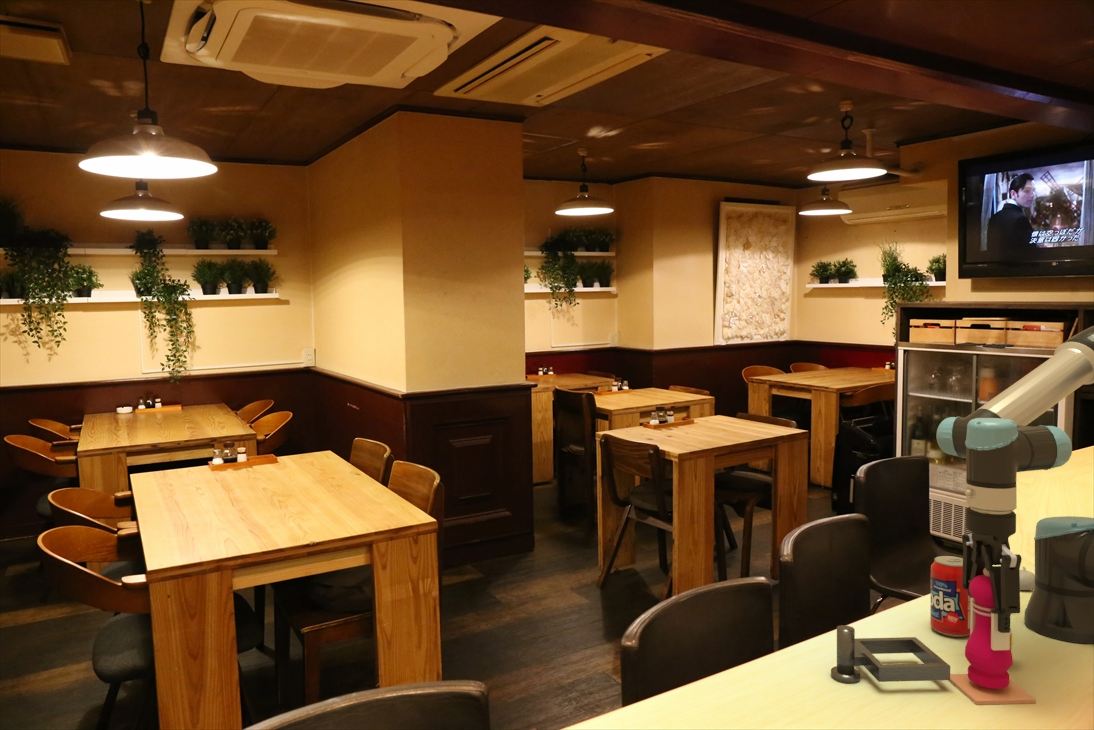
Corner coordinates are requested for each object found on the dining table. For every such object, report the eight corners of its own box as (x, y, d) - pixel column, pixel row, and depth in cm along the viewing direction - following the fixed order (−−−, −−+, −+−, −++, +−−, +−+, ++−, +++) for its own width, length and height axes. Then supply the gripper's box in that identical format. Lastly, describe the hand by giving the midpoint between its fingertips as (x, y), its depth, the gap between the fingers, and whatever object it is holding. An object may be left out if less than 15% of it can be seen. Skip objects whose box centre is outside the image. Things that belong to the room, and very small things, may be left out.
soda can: (982, 637, 157) (983, 564, 156) (949, 641, 155) (950, 567, 154) (953, 622, 164) (953, 553, 163) (921, 627, 162) (922, 556, 161)
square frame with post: (915, 660, 146) (915, 613, 146) (950, 691, 134) (950, 640, 134) (819, 662, 146) (819, 615, 146) (845, 694, 134) (845, 642, 133)
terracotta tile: (999, 676, 139) (999, 672, 139) (1035, 703, 129) (1035, 699, 129) (944, 677, 139) (944, 674, 139) (976, 704, 129) (976, 701, 129)
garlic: (1017, 583, 188) (1018, 562, 187) (1041, 589, 183) (1042, 568, 183) (1004, 588, 184) (1005, 567, 184) (1028, 595, 180) (1029, 573, 180)
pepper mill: (1019, 691, 130) (1020, 574, 129) (972, 688, 132) (973, 572, 131) (1003, 672, 137) (1004, 561, 136) (958, 670, 139) (959, 559, 138)
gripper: (940, 497, 142) (939, 621, 143) (1001, 523, 123) (999, 665, 125) (981, 496, 142) (980, 620, 143) (1048, 522, 123) (1046, 664, 125)
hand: (989, 641), depth 134 cm, fingers open, 6 cm apart
